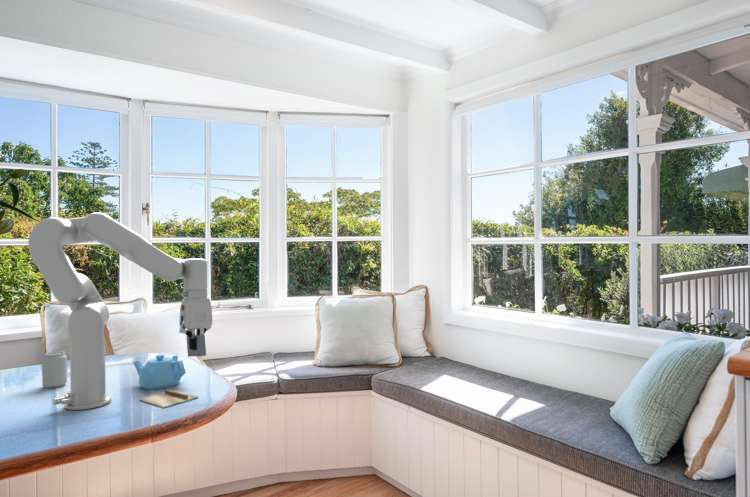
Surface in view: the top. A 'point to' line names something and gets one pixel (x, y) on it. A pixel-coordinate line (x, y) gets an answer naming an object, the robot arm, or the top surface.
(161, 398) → the wooden ridged plate
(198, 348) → the tile
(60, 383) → the can
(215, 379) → the top surface
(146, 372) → the teapot
